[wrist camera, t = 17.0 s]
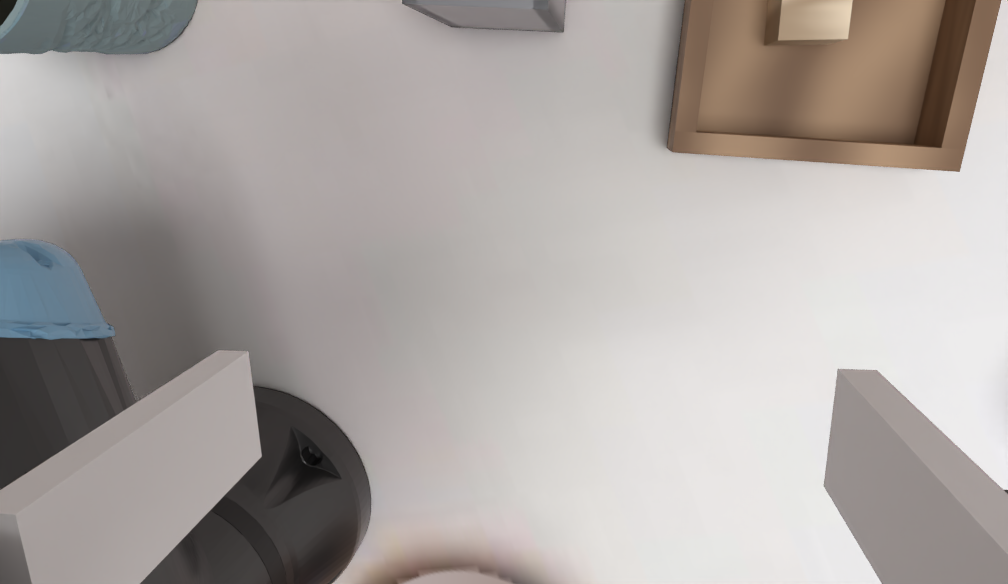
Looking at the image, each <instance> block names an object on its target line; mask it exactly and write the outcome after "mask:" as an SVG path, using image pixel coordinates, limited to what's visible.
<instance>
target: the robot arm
mask: <svg viewBox="0 0 1008 584" xmlns="http://www.w3.org/2000/svg"><path fill="white" fill-rule="evenodd" d="M111 336H115V330H114V328H113V326H111V325H109V324H107V323H106V322H105V320H104V318H103V316H102V313H101V311H100V309H99V307H98V305H97V303H96V300H95V298H94V296H93V294H92V292H91V290H90V287H89V285H88V283H87V281H86V279H85V277H84V274H83V272H82V270H81V268H80V266H79V265H78V263H77V262H76V260H75V259H74V258H73V257H72V256H71V255H70V254H69V253H67V252H66V251H65V250H63V249H62V248H60V247H58V246H56V245H54V244H51V243H48V242H45V241H40V240H32V239H14V240H0V584H332V583H333V582H334V581H335V580H336V579H337V578H338V577H339V576H340V575H341V574H342V573H343V571H344V570H345V569H346V568H347V566H348V565H349V563H350V562H351V560H352V558H353V556H354V555H355V553H356V551H357V549H358V548H359V546H360V544H361V542H362V540H363V538H364V536H365V534H366V531H367V528H368V524H369V519H370V512H371V497H370V489H369V484H368V480H367V476H366V473H365V470H364V467H363V465H362V463H361V461H360V458H359V457H358V455H357V453H356V451H355V450H354V448H353V446H352V445H351V443H350V442H349V441H348V439H347V438H346V437H345V435H344V434H343V433H342V432H341V431H340V430H339V429H338V427H337V426H336V425H335V424H334V423H332V422H331V421H330V420H329V419H328V418H327V417H326V416H324V415H323V414H322V413H321V412H319V411H318V410H316V409H315V408H313V407H312V406H310V405H309V404H307V403H305V402H303V401H301V400H299V399H297V398H295V397H293V396H290V395H288V394H285V393H282V392H279V391H275V390H271V389H266V388H260V387H253V382H252V375H251V367H250V359H249V351H231V350H218V351H216V352H214V353H213V354H211V355H210V356H208V357H207V358H205V359H204V360H202V361H200V362H199V363H197V364H196V365H194V366H193V367H191V368H190V369H188V370H186V371H185V372H183V373H182V374H180V375H179V376H177V377H176V378H174V379H172V380H171V381H169V382H168V383H166V384H165V385H163V386H162V387H160V388H158V389H157V390H155V391H154V392H152V393H151V394H149V395H148V396H146V397H144V398H143V399H141V400H140V401H138V402H137V403H136V400H135V397H134V395H133V392H132V390H131V387H130V384H129V382H128V379H127V377H126V374H125V371H124V369H123V366H122V364H121V361H120V358H119V356H118V353H117V350H116V348H115V345H114V343H113V340H112V337H111ZM824 487H825V489H826V491H827V492H828V494H829V496H830V497H831V499H832V501H833V502H834V504H835V506H836V507H837V509H838V511H839V512H840V514H841V516H842V517H843V519H844V521H845V522H846V524H847V526H848V527H849V529H850V531H851V533H852V534H853V536H854V538H855V539H856V541H857V543H858V544H859V546H860V548H861V549H862V551H863V553H864V554H865V556H866V558H867V559H868V561H869V563H870V564H871V566H872V568H873V569H874V571H875V573H876V574H877V576H878V578H879V579H880V581H881V583H882V584H1008V490H1003V489H1002V488H1001V487H1000V486H999V485H998V484H997V483H996V482H994V481H993V480H992V479H991V478H990V477H989V476H988V475H987V474H986V473H985V472H984V471H983V470H982V469H981V468H980V467H979V466H978V465H976V464H975V463H974V462H973V461H972V460H971V459H970V458H969V457H968V456H967V455H966V454H965V453H964V452H963V451H962V450H961V449H960V448H958V447H957V446H956V445H955V444H954V443H953V442H952V441H951V440H950V439H949V438H948V437H947V436H946V435H945V434H944V433H943V432H942V431H941V430H939V429H938V428H937V427H936V426H935V425H934V424H933V423H932V422H931V421H930V420H929V419H928V418H927V417H926V416H925V415H924V414H923V413H921V412H920V411H919V410H918V409H917V408H916V407H915V406H914V405H913V404H912V403H911V402H910V401H909V400H908V399H907V398H906V397H905V396H903V395H902V394H901V393H900V392H899V391H898V390H897V389H896V388H895V387H894V386H893V385H892V384H891V383H890V382H889V381H888V380H887V379H885V378H884V377H883V376H882V375H881V374H880V373H879V372H878V371H877V370H853V369H838V371H837V380H836V388H835V396H834V405H833V413H832V421H831V430H830V438H829V446H828V455H827V463H826V471H825V480H824Z"/></svg>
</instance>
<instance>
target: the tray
mask: <svg viewBox="0 0 1008 584" xmlns="http://www.w3.org/2000/svg"><path fill="white" fill-rule="evenodd" d="M1000 4H1001V0H853V2H852V10H851V18H850V26H849V34H848V39H846V40H843V41H839V42H835V43H832V44H828V45H776V46H764V41H765V30H766V19H767V8H768V0H685V4H684V12H683V20H682V28H681V36H680V45H679V53H678V61H677V69H676V77H675V86H674V94H673V102H672V110H671V118H670V127H669V135H668V143H667V148H668V149H669V150H670V151H672V152H677V153H692V154H707V155H721V156H736V157H751V158H765V159H780V160H795V161H810V162H824V163H839V164H854V165H868V166H883V167H898V168H913V169H927V170H942V171H957V172H960V168H961V164H962V159H963V155H964V151H965V147H966V143H967V139H968V135H969V131H970V127H971V123H972V118H973V114H974V110H975V106H976V102H977V98H978V94H979V90H980V86H981V82H982V77H983V73H984V69H985V65H986V61H987V57H988V53H989V49H990V45H991V41H992V36H993V32H994V28H995V24H996V20H997V16H998V12H999V8H1000Z"/></svg>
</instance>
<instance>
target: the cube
mask: <svg viewBox="0 0 1008 584" xmlns="http://www.w3.org/2000/svg"><path fill="white" fill-rule="evenodd" d="M852 2H853V0H768V8H767V19H766V30H765V41H764V46H776V45H828V44H832V43H835V42H839V41H843V40H846V39H848V34H849V26H850V18H851V10H852Z"/></svg>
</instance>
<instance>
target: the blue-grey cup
mask: <svg viewBox="0 0 1008 584" xmlns="http://www.w3.org/2000/svg"><path fill="white" fill-rule="evenodd" d="M196 4H197V0H0V54H12V53H29V54H42V53H45V52H47V51H50V50H53V51H57V52H65V53H66V52H71V51H79V52H86V51H87V52H99V53H104V54H146V53H149V52H153V51H156V50H160V49H161V48H162V47H165V46H167V45H168V44H169V43H170V42H172V41H173V40H174V39H175V38H177V37H178V36H179V35H180V34H181V33H182V31H183V29H184V28H185V27H186V26H188V21H189V20H191V18H192V15H193V14H194V11H195V8H196Z"/></svg>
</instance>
